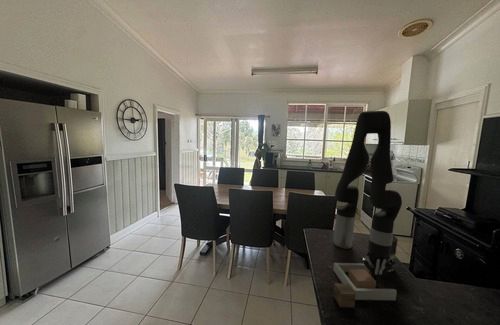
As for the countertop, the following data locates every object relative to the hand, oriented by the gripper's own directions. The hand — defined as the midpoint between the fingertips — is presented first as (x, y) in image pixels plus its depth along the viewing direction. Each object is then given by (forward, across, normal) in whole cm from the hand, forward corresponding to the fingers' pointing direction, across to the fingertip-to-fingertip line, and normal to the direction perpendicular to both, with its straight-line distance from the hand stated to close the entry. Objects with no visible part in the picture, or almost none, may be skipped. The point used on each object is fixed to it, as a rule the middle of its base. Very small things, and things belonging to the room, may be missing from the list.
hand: (375, 281), depth 81 cm
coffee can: (+1, -12, -13) cm, 17 cm away
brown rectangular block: (+2, +6, 0) cm, 6 cm away
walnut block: (+1, +18, +9) cm, 20 cm away
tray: (+1, +6, 0) cm, 6 cm away
